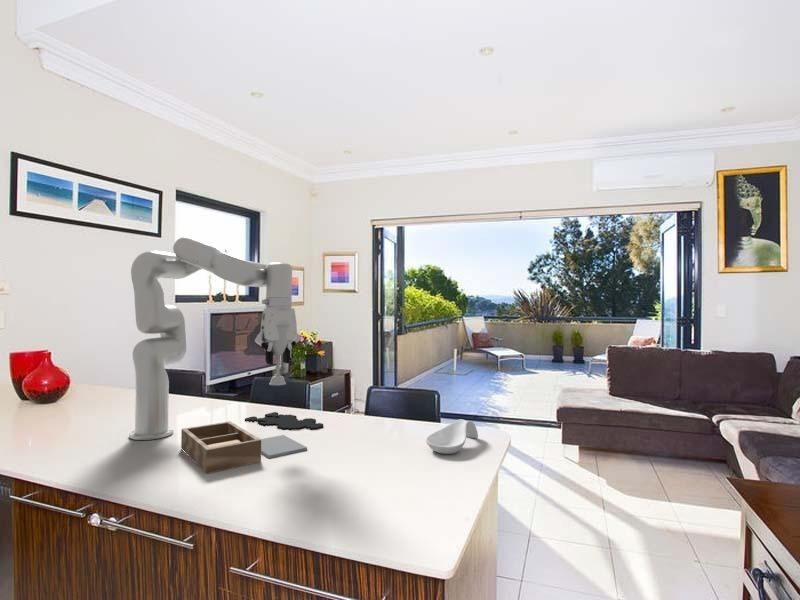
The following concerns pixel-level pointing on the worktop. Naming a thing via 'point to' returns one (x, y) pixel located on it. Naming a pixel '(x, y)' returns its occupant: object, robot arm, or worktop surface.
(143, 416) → the robot arm
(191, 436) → the walnut crate
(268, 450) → the slate mat
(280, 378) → the chalice
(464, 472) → the worktop surface
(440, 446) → the spoon rest
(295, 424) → the black silhouette cutout
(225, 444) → the oak offcut top
